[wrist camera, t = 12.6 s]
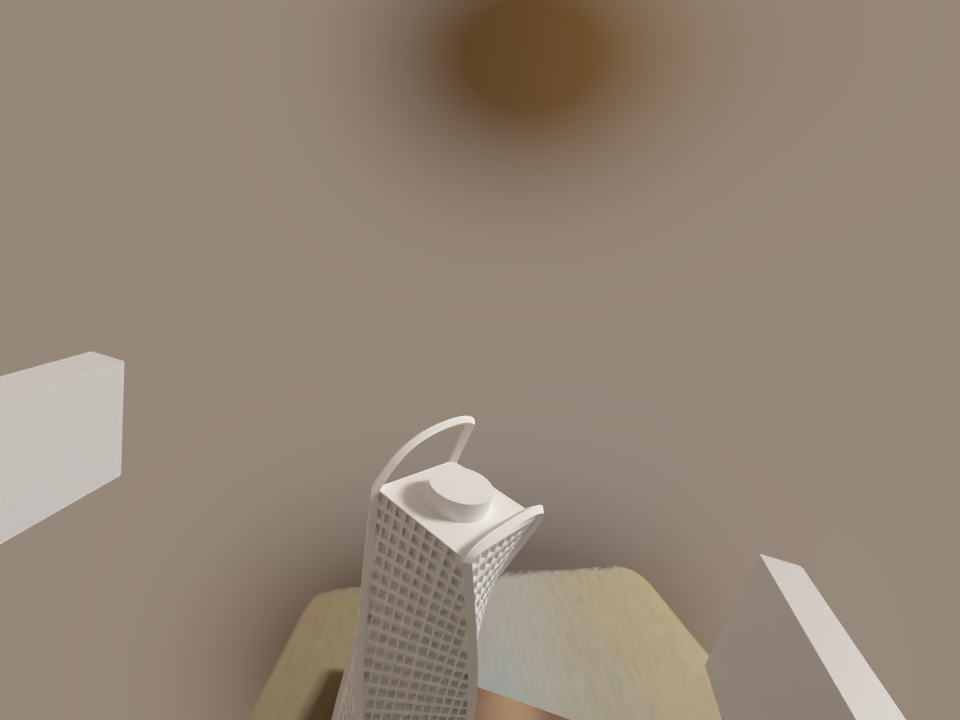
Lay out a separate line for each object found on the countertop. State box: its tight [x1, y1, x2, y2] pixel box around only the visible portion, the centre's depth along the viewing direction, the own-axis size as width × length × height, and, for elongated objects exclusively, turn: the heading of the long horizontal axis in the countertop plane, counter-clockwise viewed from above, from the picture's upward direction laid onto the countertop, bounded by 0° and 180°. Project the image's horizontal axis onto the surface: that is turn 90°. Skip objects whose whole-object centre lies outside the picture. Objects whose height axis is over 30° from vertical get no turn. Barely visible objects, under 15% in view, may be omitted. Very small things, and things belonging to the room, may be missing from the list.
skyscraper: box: [332, 416, 544, 720], centre depth 25 cm, size 8×8×28 cm
